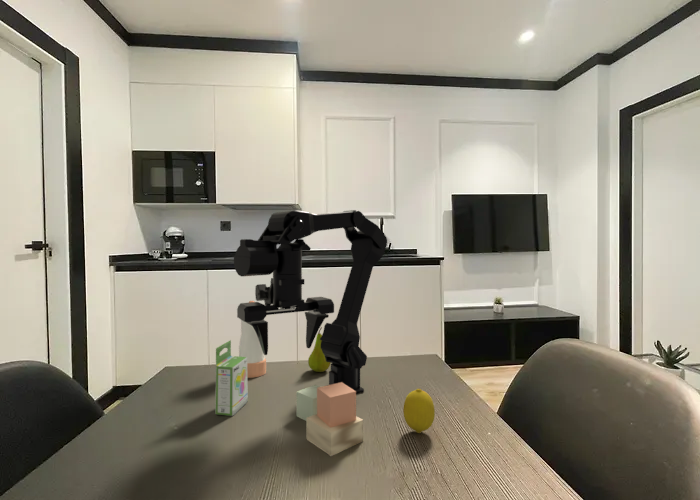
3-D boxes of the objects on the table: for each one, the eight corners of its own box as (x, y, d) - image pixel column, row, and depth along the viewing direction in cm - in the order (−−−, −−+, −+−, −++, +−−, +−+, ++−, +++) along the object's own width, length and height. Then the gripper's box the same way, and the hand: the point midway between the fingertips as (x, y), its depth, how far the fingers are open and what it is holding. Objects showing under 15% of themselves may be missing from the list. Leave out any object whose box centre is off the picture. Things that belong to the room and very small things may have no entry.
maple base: (337, 427, 70) (337, 406, 70) (363, 442, 65) (363, 419, 65) (306, 440, 65) (306, 417, 65) (331, 457, 60) (331, 433, 60)
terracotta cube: (341, 409, 69) (341, 382, 69) (356, 420, 64) (356, 391, 64) (317, 415, 66) (317, 387, 66) (330, 427, 62) (330, 397, 62)
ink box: (233, 416, 74) (233, 349, 74) (214, 415, 74) (214, 348, 74) (248, 402, 81) (248, 340, 81) (230, 401, 81) (230, 339, 81)
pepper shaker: (238, 369, 102) (238, 299, 101) (265, 367, 103) (265, 298, 103) (236, 379, 95) (236, 303, 94) (266, 376, 96) (266, 302, 96)
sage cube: (315, 408, 78) (315, 384, 78) (332, 416, 74) (332, 391, 74) (296, 416, 74) (296, 391, 74) (313, 425, 71) (313, 398, 71)
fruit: (315, 366, 105) (315, 323, 105) (335, 369, 102) (335, 325, 102) (303, 373, 99) (303, 328, 99) (324, 376, 96) (324, 330, 96)
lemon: (416, 443, 64) (416, 397, 64) (397, 429, 69) (397, 386, 69) (441, 436, 66) (441, 391, 66) (421, 423, 71) (421, 381, 71)
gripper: (311, 269, 87) (311, 336, 87) (229, 272, 77) (230, 348, 77) (335, 272, 77) (335, 348, 78) (245, 276, 68) (245, 362, 68)
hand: (287, 351), depth 75 cm, fingers open, 9 cm apart
